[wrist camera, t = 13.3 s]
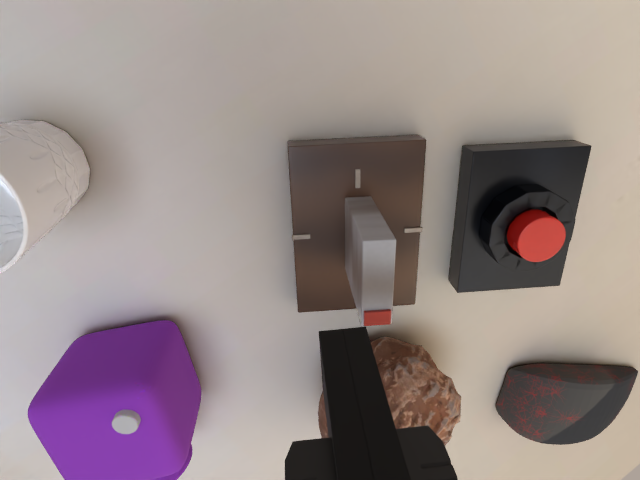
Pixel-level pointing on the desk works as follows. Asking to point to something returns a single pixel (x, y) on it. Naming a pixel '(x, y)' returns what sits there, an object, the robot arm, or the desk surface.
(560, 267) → the button block
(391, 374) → the decorative rock
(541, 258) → the button
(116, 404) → the toy camera
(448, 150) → the desk surface
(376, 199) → the panel
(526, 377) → the dark grey rounded block
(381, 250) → the tap handle
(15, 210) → the white cup
